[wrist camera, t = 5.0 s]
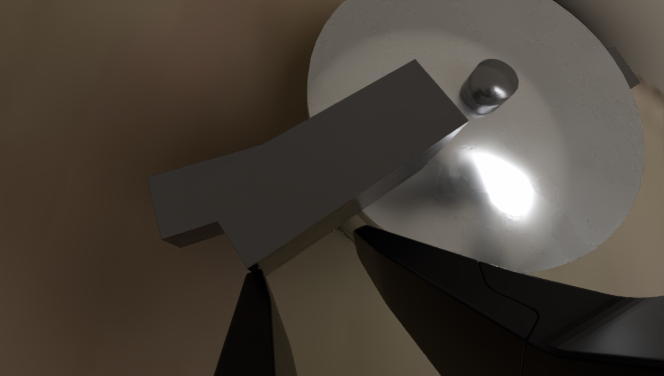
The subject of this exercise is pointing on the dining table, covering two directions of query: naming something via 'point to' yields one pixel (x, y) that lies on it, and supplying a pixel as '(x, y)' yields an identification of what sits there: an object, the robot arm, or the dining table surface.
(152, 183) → the pot
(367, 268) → the robot arm
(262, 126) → the dining table surface
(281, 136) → the lid
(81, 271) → the dining table surface
